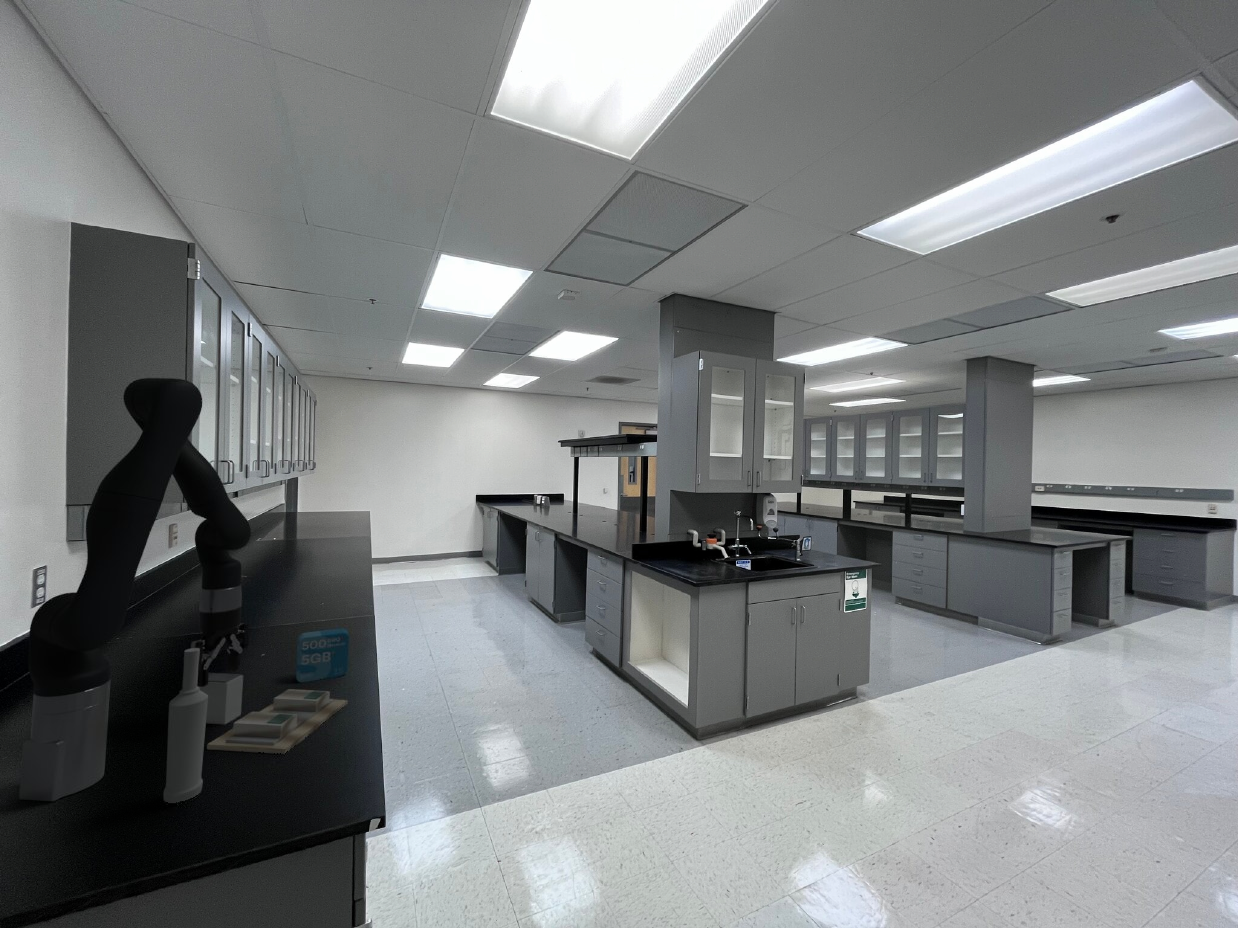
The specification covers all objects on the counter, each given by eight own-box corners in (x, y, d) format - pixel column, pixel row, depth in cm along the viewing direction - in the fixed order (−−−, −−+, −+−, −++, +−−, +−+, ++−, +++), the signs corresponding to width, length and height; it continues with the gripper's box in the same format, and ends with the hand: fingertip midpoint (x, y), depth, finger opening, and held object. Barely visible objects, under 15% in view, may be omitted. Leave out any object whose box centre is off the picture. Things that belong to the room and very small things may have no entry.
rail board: (284, 753, 100) (286, 732, 100) (207, 749, 101) (208, 727, 101) (347, 704, 122) (348, 686, 122) (283, 700, 123) (284, 682, 123)
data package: (295, 683, 133) (298, 638, 133) (295, 677, 136) (298, 633, 137) (347, 675, 139) (349, 631, 140) (345, 669, 143) (348, 627, 143)
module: (224, 724, 111) (227, 681, 111) (185, 722, 111) (187, 679, 111) (240, 714, 115) (243, 673, 116) (202, 712, 116) (205, 671, 116)
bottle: (210, 786, 89) (218, 645, 90) (186, 806, 84) (195, 655, 85) (180, 786, 89) (189, 644, 90) (154, 805, 84) (163, 654, 85)
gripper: (210, 616, 107) (207, 692, 107) (260, 598, 121) (257, 666, 121) (176, 614, 107) (173, 690, 107) (230, 597, 121) (227, 664, 121)
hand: (218, 677), depth 114 cm, fingers open, 8 cm apart
